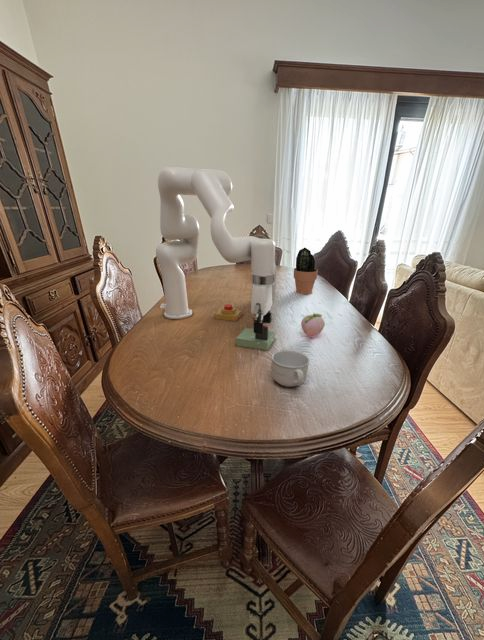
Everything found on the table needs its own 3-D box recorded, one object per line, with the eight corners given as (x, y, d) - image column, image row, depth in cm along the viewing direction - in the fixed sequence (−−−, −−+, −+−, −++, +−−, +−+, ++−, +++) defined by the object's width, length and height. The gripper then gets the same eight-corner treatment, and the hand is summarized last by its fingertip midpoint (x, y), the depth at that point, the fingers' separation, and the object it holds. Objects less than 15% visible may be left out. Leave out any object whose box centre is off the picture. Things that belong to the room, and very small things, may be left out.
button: (223, 310, 128) (222, 306, 127) (226, 307, 131) (226, 303, 130) (230, 311, 127) (230, 307, 126) (233, 308, 130) (233, 304, 129)
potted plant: (317, 295, 161) (322, 249, 150) (293, 295, 161) (296, 249, 150) (313, 289, 173) (318, 245, 162) (291, 288, 173) (294, 245, 162)
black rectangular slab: (255, 338, 103) (255, 325, 101) (256, 337, 105) (256, 323, 102) (267, 340, 102) (267, 326, 100) (268, 338, 104) (268, 325, 101)
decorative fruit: (309, 330, 119) (312, 307, 114) (326, 336, 114) (329, 312, 109) (295, 336, 113) (297, 312, 108) (312, 343, 108) (314, 318, 103)
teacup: (268, 371, 89) (269, 349, 86) (303, 370, 90) (305, 348, 87) (274, 399, 77) (275, 374, 73) (313, 397, 78) (316, 372, 74)
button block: (214, 318, 129) (214, 310, 127) (222, 312, 135) (221, 304, 133) (235, 321, 126) (235, 312, 124) (242, 315, 133) (241, 306, 131)
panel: (234, 347, 104) (234, 339, 102) (245, 334, 114) (245, 327, 112) (269, 353, 100) (270, 345, 99) (278, 339, 110) (278, 332, 109)
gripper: (259, 273, 102) (259, 318, 110) (242, 284, 87) (244, 335, 95) (280, 274, 100) (278, 320, 108) (266, 286, 85) (265, 338, 93)
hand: (262, 327), depth 101 cm, fingers open, 9 cm apart
